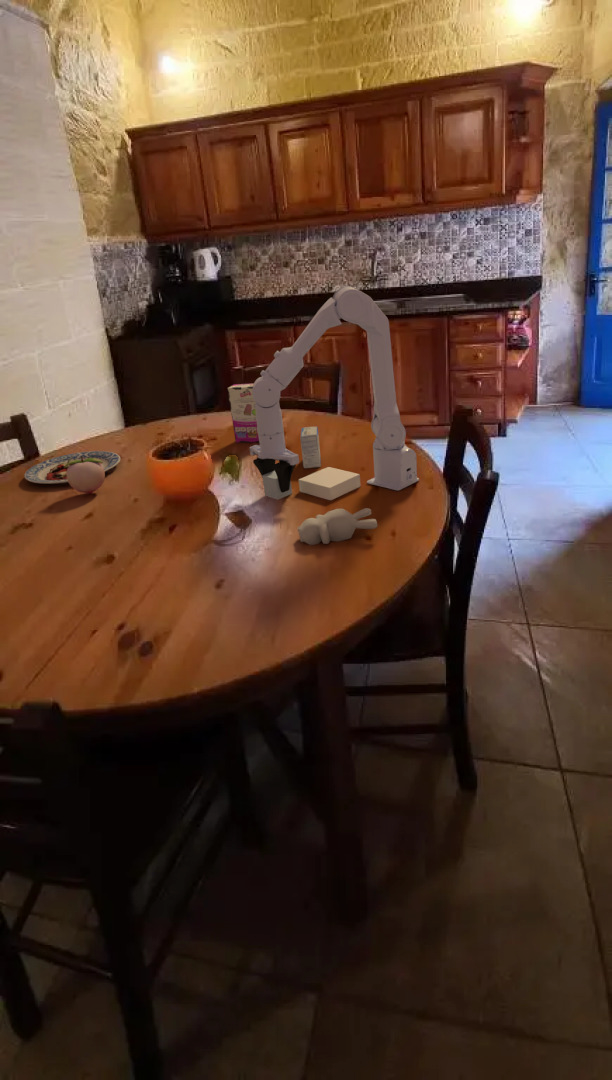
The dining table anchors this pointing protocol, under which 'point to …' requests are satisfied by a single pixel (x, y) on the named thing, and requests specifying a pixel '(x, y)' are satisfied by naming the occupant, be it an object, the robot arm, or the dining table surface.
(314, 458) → the medicine box
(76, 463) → the decorative fruit
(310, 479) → the base brick
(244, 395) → the candy bar box
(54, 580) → the dining table surface
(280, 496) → the blue-grey brick
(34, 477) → the ceramic plate
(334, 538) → the bunny figurine
